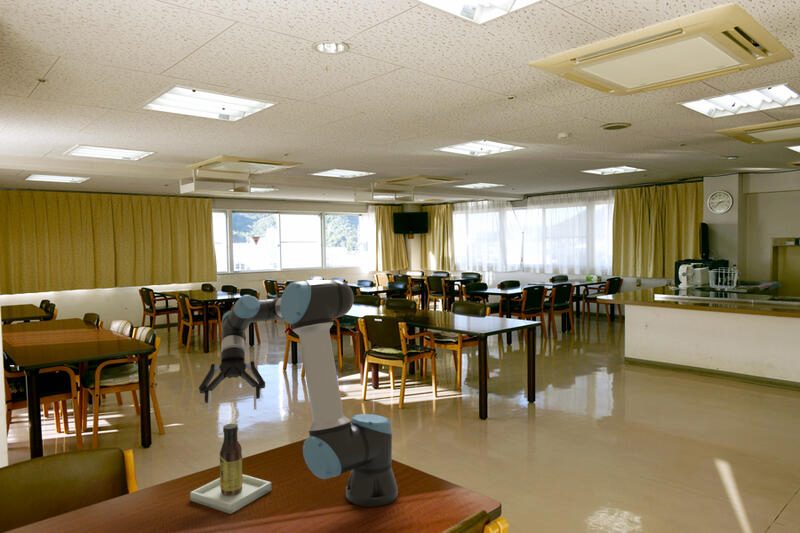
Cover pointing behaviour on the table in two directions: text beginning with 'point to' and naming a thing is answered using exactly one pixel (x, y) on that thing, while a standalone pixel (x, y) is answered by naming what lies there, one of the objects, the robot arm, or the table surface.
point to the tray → (230, 503)
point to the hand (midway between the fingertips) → (232, 409)
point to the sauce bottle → (230, 462)
